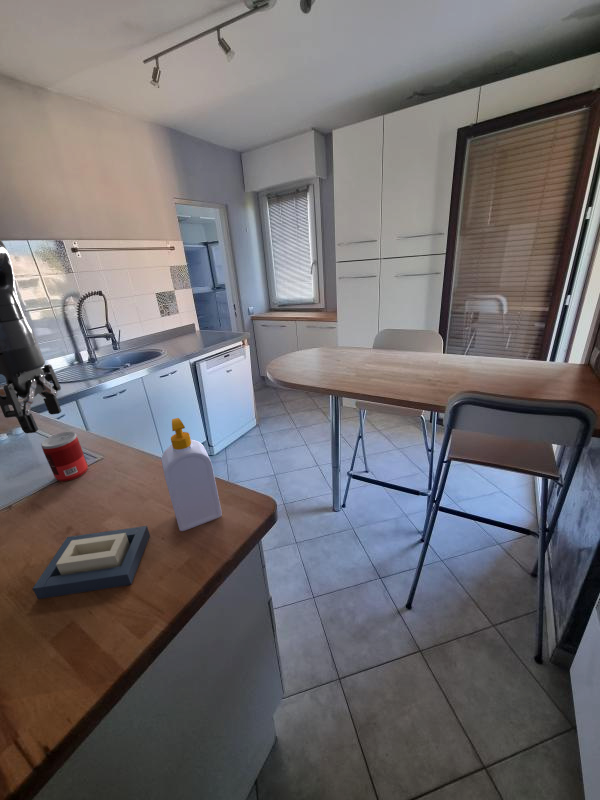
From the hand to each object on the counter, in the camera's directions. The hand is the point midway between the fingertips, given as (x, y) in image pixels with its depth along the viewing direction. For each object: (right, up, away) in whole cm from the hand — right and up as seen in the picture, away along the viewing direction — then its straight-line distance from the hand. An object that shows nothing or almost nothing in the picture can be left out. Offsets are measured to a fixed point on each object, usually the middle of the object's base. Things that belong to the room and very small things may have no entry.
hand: (44, 422), depth 68 cm
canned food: (-10, -16, +24) cm, 31 cm away
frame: (+14, -26, -6) cm, 30 cm away
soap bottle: (+30, -21, +5) cm, 37 cm away
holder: (+15, -26, -5) cm, 31 cm away
